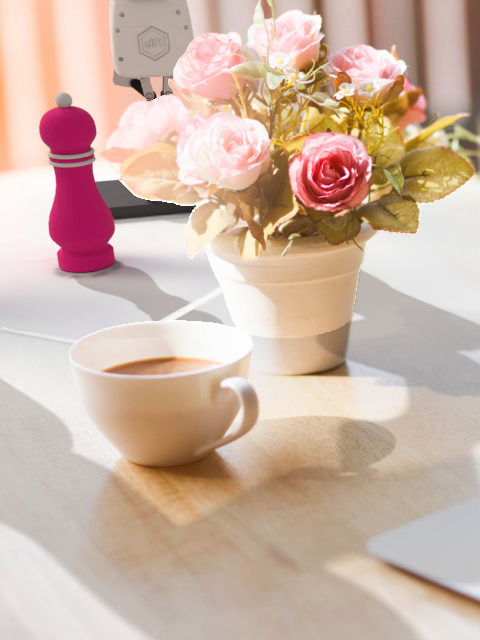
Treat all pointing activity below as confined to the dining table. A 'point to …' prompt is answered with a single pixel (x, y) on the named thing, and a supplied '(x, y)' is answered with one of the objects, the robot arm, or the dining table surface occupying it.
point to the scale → (134, 202)
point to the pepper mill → (76, 190)
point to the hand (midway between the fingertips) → (162, 128)
